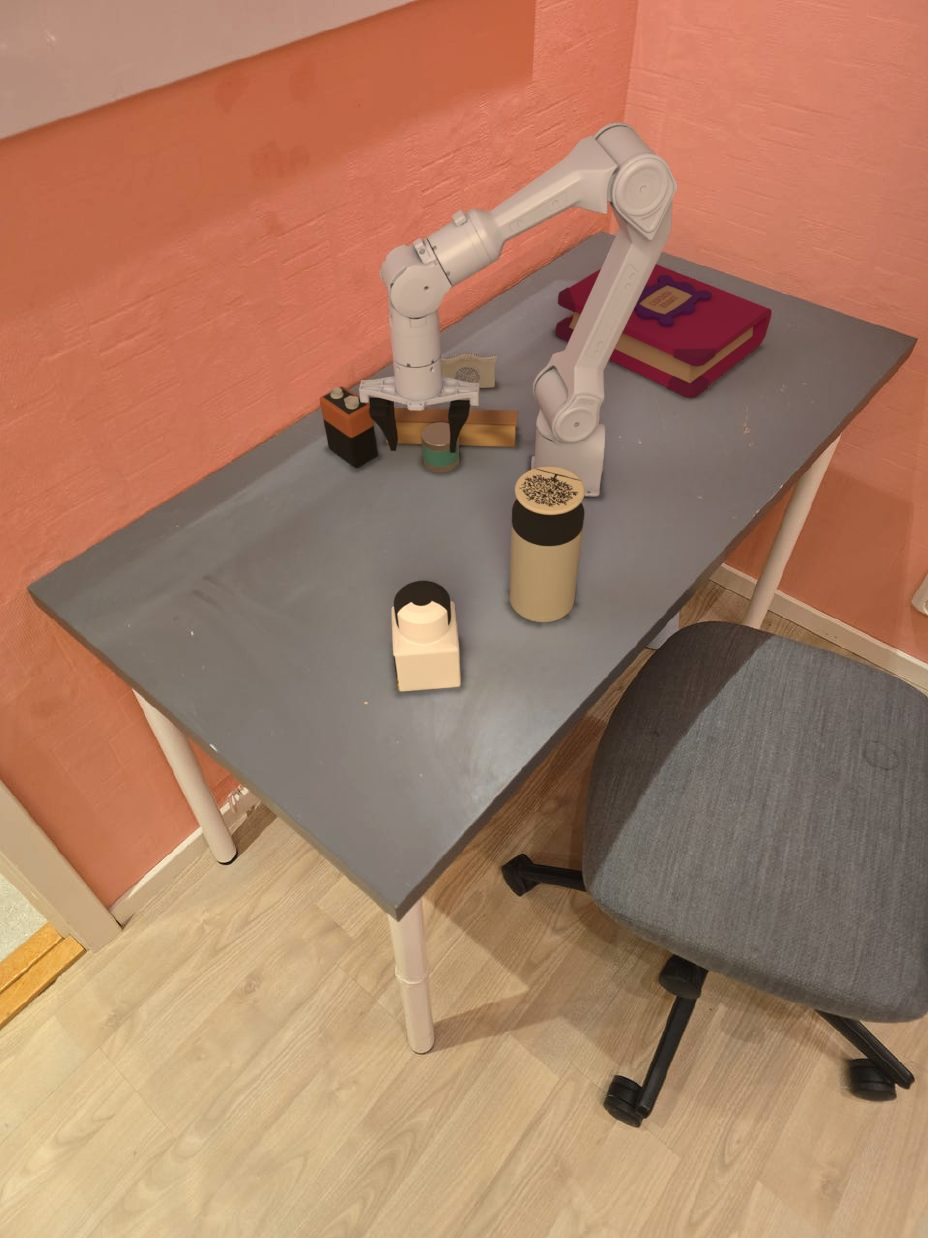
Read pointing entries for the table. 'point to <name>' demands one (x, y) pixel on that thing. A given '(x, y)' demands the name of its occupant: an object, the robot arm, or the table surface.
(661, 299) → the book
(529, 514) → the travel mug
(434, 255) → the robot arm
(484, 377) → the lattice window wall
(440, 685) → the cream block figurine
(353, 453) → the battery
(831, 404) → the table surface
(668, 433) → the table surface
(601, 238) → the table surface
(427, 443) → the tin can
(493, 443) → the wooden block
